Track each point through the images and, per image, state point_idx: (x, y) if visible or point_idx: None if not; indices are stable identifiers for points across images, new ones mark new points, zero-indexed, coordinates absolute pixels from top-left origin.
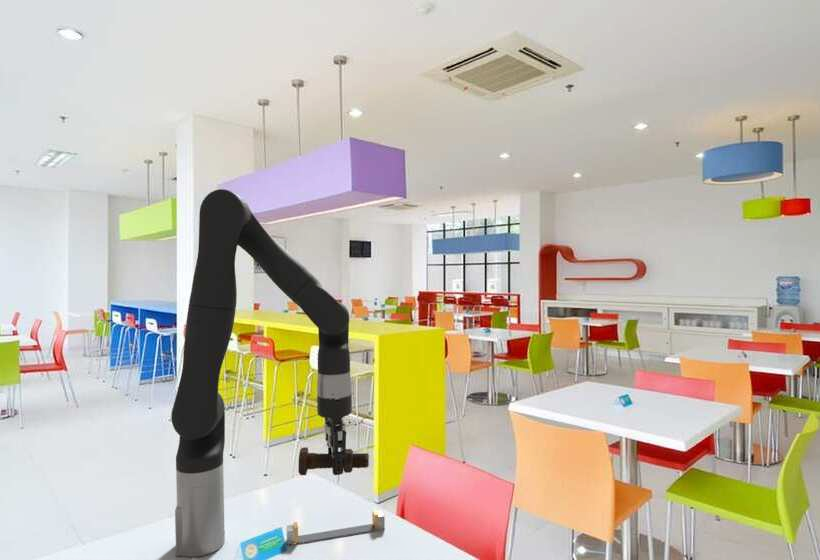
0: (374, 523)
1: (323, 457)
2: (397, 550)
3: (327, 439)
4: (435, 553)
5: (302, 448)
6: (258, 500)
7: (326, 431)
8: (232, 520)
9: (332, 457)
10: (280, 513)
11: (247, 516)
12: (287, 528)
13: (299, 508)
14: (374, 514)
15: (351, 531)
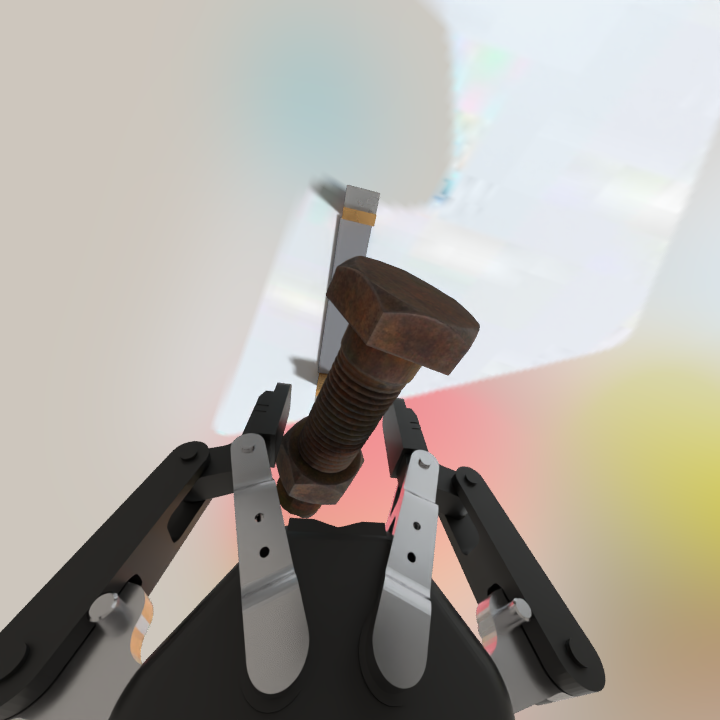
0: (322, 379)
1: (338, 401)
2: (242, 378)
3: (402, 493)
4: (217, 416)
5: (451, 341)
6: (636, 177)
7: (388, 560)
8: (597, 39)
9: (249, 436)
10: (513, 218)
11: (576, 109)
12: (363, 190)
13: (499, 272)
14: (319, 390)
15: (331, 336)
